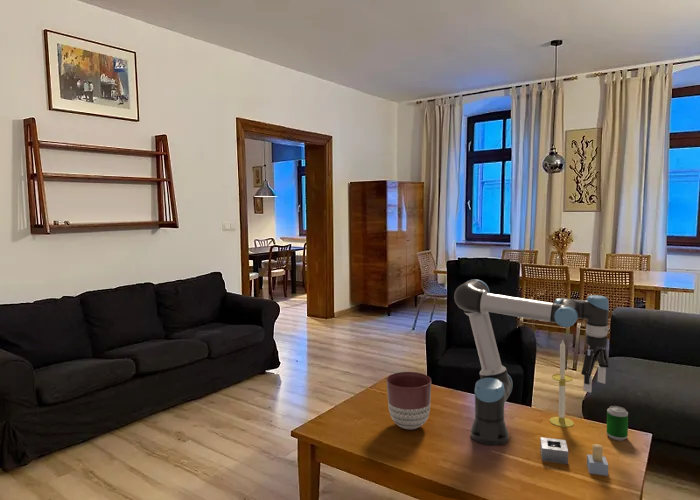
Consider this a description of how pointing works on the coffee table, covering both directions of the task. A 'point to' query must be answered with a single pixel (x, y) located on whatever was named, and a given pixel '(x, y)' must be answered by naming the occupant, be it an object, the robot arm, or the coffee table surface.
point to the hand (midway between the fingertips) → (594, 387)
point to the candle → (562, 392)
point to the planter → (409, 398)
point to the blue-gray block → (597, 461)
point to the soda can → (617, 423)
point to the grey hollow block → (554, 450)
